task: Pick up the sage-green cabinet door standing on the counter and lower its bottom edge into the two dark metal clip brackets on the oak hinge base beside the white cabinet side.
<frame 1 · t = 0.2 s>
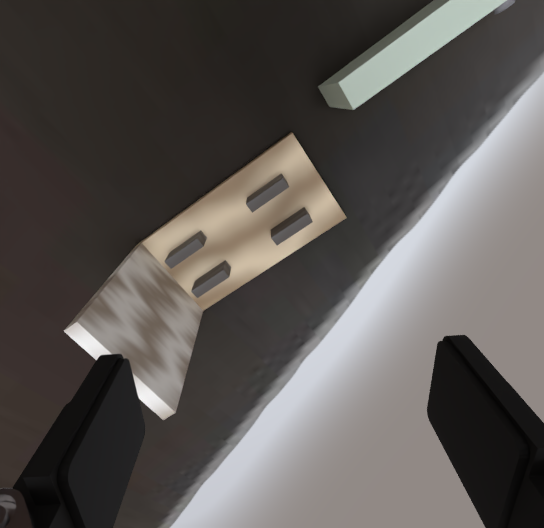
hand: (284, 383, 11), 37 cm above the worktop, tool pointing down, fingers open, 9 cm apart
hinge base: (239, 229, 48), on the worktop
door: (395, 44, 40), on the worktop
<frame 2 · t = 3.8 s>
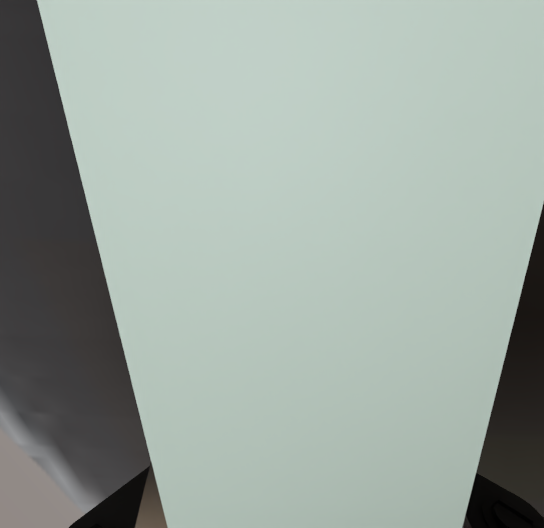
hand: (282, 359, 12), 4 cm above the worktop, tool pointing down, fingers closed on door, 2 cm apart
door: (278, 302, 16), on the worktop, touching gripper
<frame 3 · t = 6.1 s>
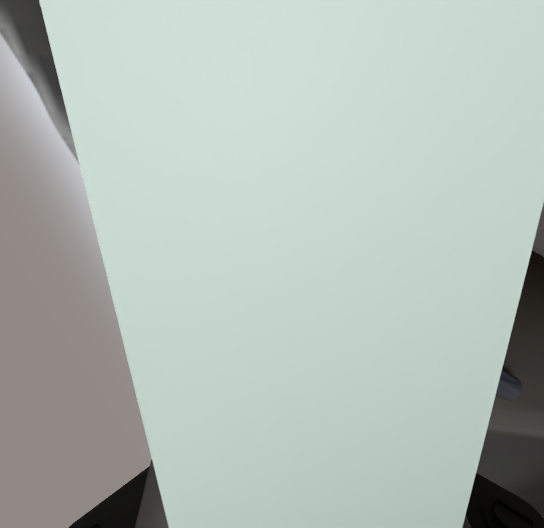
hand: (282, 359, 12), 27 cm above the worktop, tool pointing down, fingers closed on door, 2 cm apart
screwdriver: (419, 342, 46), on the worktop
door: (278, 302, 16), point 23 cm above the worktop, touching gripper
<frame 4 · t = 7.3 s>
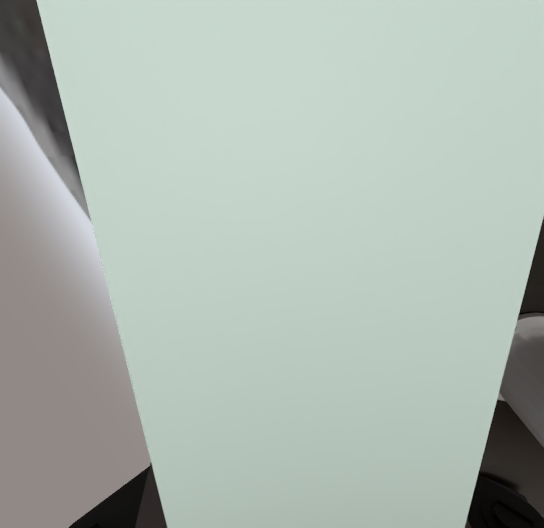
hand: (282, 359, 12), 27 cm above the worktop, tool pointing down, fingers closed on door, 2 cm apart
door: (278, 304, 16), point 24 cm above the worktop, touching gripper
when the fingers open (6 cm above the worktop, at t = 11.9 s): door stays where it is, resting on hinge base.
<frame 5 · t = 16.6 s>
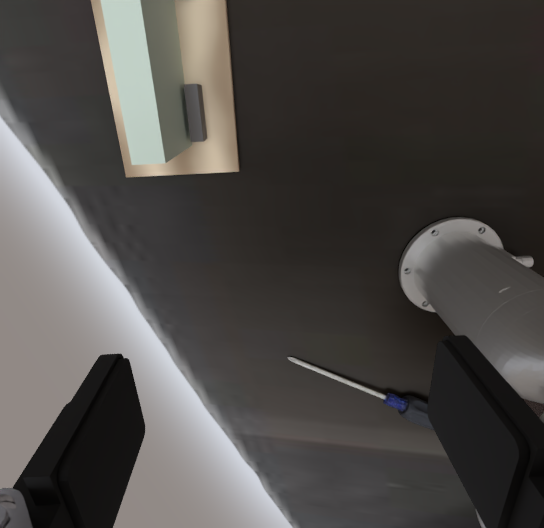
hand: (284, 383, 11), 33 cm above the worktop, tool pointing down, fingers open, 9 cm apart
hinge base: (168, 47, 37), on the worktop
screwdriver: (368, 384, 55), on the worktop
door: (166, 46, 35), point 1 cm above the worktop, touching hinge base
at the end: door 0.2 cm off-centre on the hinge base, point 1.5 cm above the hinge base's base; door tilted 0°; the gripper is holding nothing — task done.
